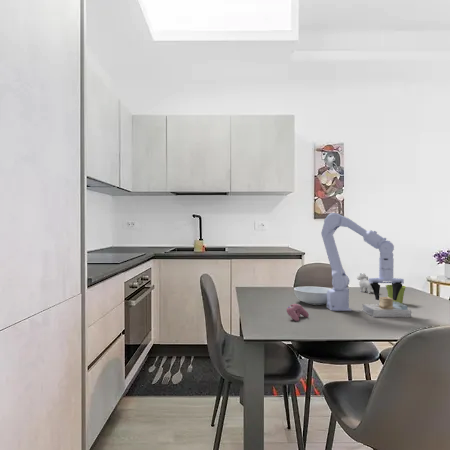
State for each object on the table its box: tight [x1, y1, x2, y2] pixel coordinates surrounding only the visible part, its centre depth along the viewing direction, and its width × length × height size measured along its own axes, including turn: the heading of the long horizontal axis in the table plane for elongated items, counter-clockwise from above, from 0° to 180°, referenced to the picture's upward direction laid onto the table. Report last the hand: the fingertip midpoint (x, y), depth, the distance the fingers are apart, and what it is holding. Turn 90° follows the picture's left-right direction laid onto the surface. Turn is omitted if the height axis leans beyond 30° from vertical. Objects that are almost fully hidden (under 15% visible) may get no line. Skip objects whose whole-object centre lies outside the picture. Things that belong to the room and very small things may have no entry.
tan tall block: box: [379, 296, 393, 308], centre depth 168 cm, size 4×4×7 cm
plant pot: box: [385, 284, 407, 304], centre depth 191 cm, size 9×9×9 cm
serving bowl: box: [293, 285, 333, 306], centre depth 191 cm, size 21×21×7 cm
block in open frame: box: [361, 301, 412, 318], centre depth 168 cm, size 16×12×4 cm
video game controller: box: [286, 303, 309, 322], centre depth 158 cm, size 10×5×7 cm, turn 141°
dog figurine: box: [356, 273, 374, 294], centre depth 225 cm, size 5×13×11 cm, turn 23°
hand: (386, 299), depth 168 cm, fingers open, 7 cm apart
